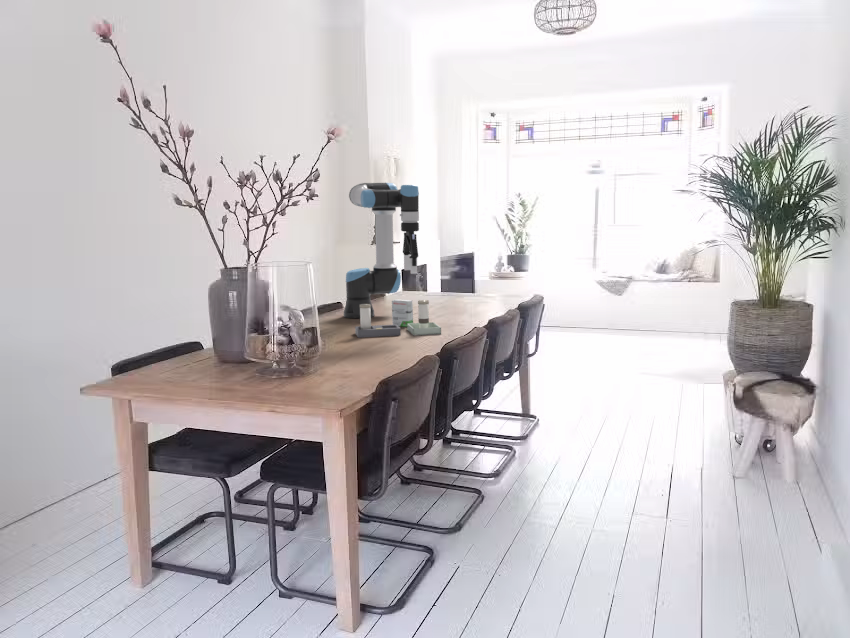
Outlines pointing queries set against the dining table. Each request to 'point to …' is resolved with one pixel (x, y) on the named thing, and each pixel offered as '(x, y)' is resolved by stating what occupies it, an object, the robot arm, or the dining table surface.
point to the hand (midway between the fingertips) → (410, 271)
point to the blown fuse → (423, 313)
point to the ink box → (402, 312)
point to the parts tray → (423, 329)
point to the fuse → (365, 316)
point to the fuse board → (378, 331)
